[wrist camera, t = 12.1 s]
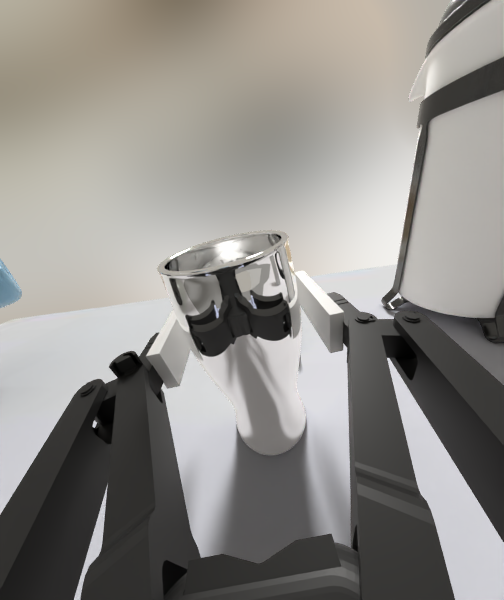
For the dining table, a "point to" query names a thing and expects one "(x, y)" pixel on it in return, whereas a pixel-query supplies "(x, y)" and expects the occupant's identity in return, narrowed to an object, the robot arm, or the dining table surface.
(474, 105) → the coffee press
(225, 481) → the dining table surface
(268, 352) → the beer glass
